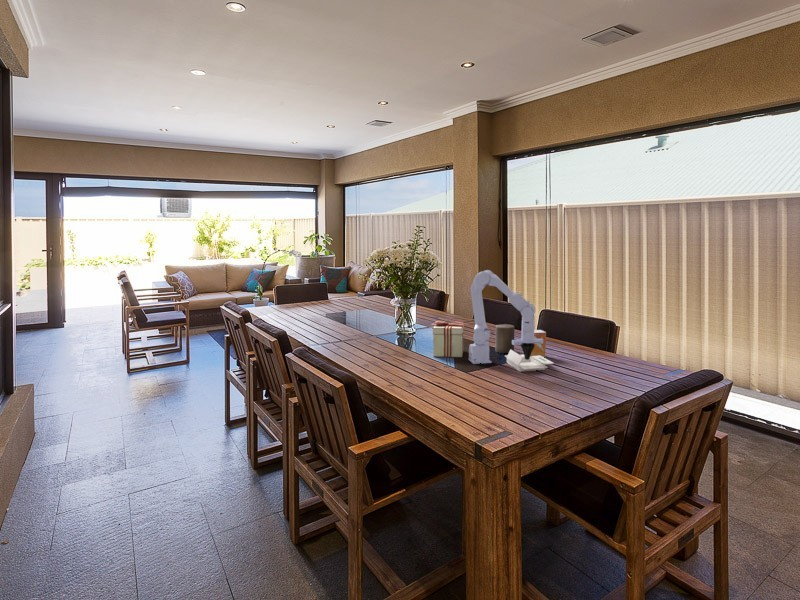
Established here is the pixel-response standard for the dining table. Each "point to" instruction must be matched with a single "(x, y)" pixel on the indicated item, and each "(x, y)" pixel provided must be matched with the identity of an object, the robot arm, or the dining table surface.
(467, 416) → the dining table surface
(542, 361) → the flap
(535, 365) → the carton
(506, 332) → the pillar candle
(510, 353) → the flap
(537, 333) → the small box
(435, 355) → the gift box
